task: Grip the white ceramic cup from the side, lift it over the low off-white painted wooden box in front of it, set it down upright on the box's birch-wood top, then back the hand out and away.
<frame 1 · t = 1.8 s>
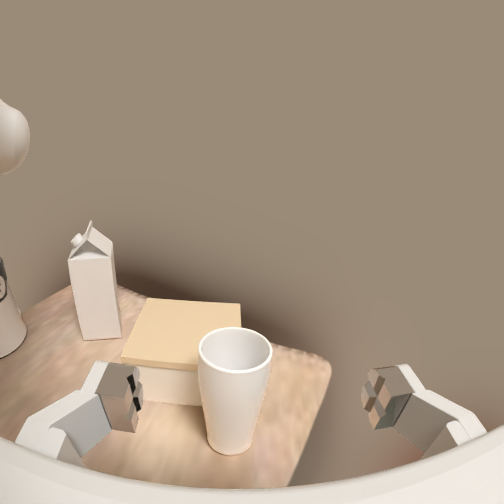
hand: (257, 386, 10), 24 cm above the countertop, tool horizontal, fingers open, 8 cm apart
white ceramic cup: (229, 440, 31), on the countertop
milk carton: (103, 329, 49), on the countertop
painted box: (189, 370, 42), on the countertop
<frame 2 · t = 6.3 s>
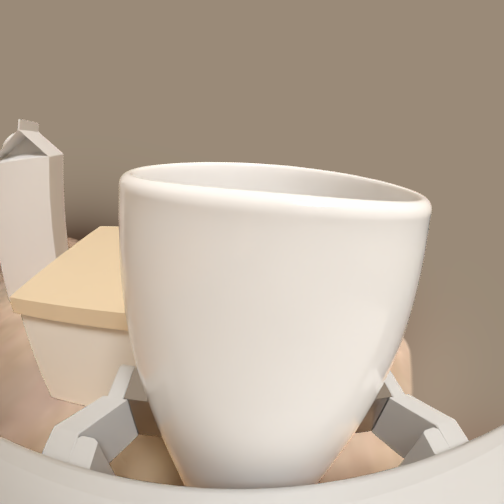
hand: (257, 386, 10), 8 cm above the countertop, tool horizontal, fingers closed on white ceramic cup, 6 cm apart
white ceramic cup: (244, 499, 12), on the countertop, touching gripper
milk carton: (42, 289, 29), on the countertop
painted box: (161, 351, 23), on the countertop
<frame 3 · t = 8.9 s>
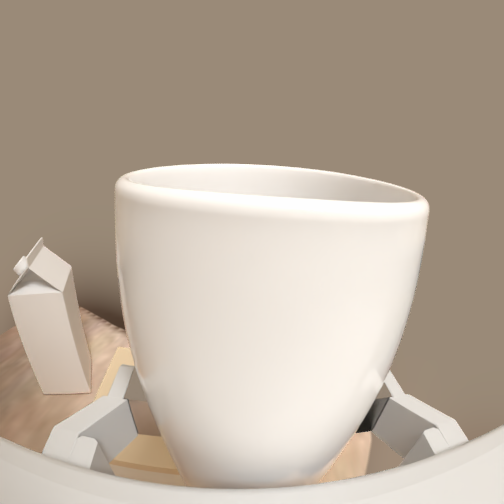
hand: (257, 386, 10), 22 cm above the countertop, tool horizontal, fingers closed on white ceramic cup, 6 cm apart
white ceramic cup: (246, 500, 12), point 13 cm above the countertop, touching gripper
milk carton: (69, 378, 34), on the countertop
painted box: (179, 447, 27), on the countertop
when the fingers open (17 cm above the countertop, at t = 11.6 s): white ceramic cup moves 2 cm, resting on painted box.
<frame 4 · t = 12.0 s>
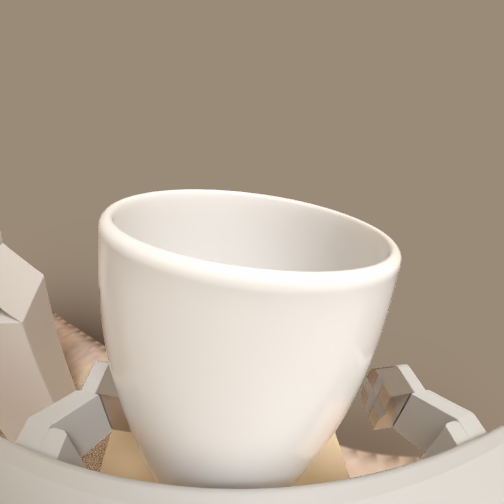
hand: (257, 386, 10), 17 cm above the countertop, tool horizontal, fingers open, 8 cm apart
milk carton: (52, 431, 21), on the countertop
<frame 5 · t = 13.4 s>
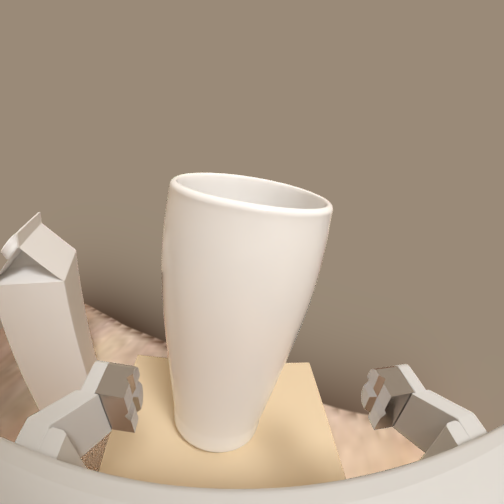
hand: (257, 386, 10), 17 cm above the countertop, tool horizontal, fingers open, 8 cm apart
white ceramic cup: (215, 425, 18), point 8 cm above the countertop, touching painted box
milk carton: (71, 391, 27), on the countertop
painted box: (221, 480, 20), on the countertop
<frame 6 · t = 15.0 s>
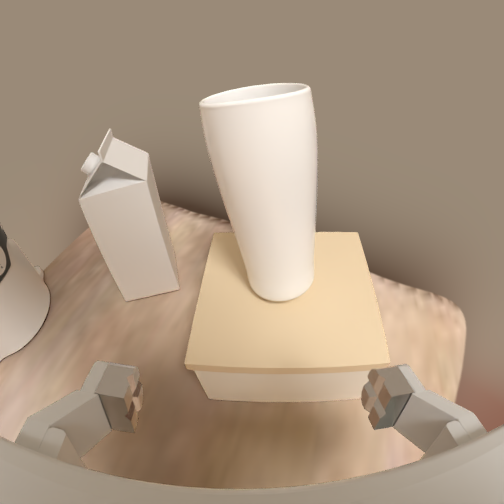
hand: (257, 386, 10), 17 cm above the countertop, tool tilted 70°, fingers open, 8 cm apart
white ceramic cup: (282, 282, 25), point 8 cm above the countertop, touching painted box
milk carton: (151, 278, 38), on the countertop
painted box: (285, 338, 30), on the countertop
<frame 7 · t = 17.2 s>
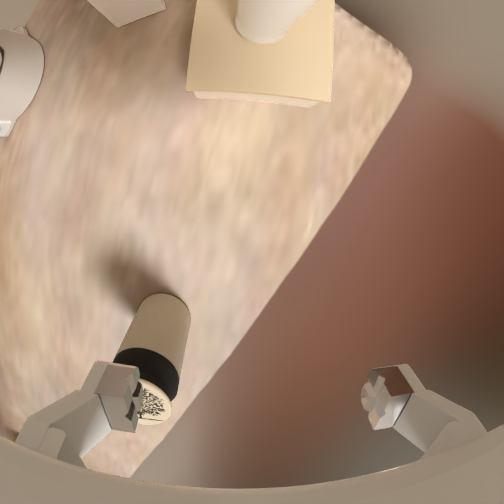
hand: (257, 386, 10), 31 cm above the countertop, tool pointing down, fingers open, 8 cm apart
white ceramic cup: (260, 25, 24), point 8 cm above the countertop, touching painted box
milk carton: (138, 1, 28), on the countertop
painted box: (258, 51, 32), on the countertop
travel mug: (165, 315, 44), on the countertop
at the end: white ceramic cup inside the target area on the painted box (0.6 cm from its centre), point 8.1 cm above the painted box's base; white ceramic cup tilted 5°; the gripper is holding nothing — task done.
